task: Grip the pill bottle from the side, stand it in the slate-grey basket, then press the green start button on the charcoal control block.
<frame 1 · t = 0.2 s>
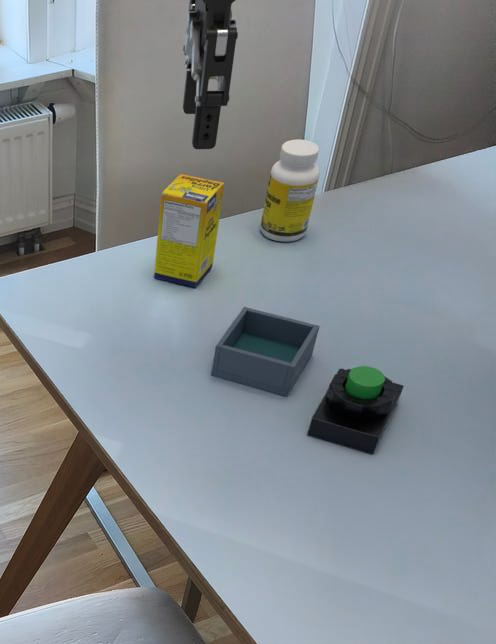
hand: (198, 129, 87), 23 cm above the table, tool pointing down, fingers open, 8 cm apart
basket: (261, 365, 101), on the table
pill bottle: (282, 233, 121), on the table
supplement box: (182, 274, 115), on the table
control block: (353, 418, 95), on the table
start button: (364, 383, 91), point 4 cm above the table, slide at 0.1 cm
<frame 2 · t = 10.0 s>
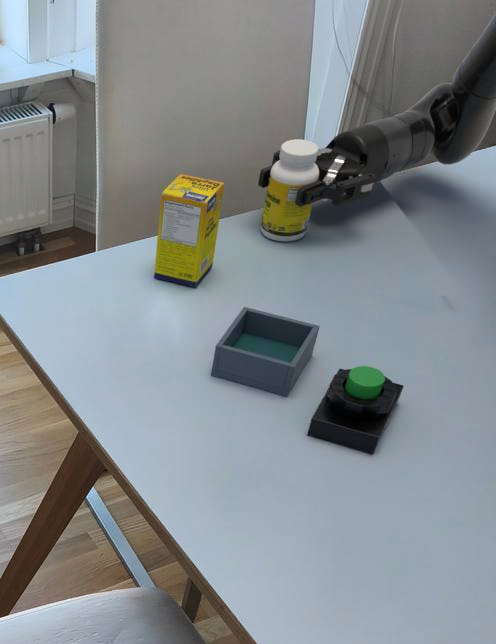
hand: (279, 188, 115), 7 cm above the table, tool horizontal, fingers closed on pill bottle, 6 cm apart
pill bottle: (282, 233, 121), on the table, touching gripper
everything else where it was.
when the fingers open (8 cm above the table, at t = 19.9 s): pill bottle stays where it is, resting on basket.
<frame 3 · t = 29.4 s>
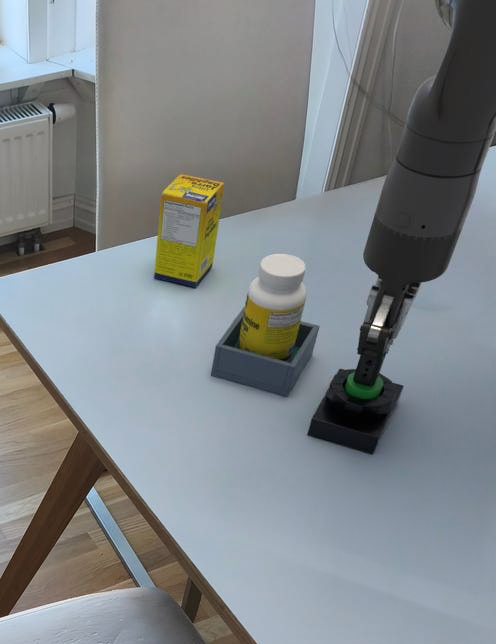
hand: (364, 380, 91), 5 cm above the table, tool pointing down, fingers closed
pill bottle: (262, 358, 101), point 1 cm above the table, touching basket
start button: (363, 387, 92), point 4 cm above the table, slide at -0.5 cm, touching gripper
everything else where it was.
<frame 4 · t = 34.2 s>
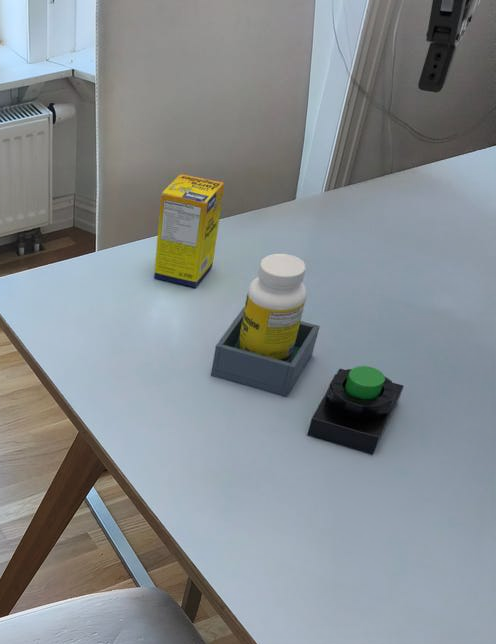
hand: (430, 88, 83), 27 cm above the table, tool pointing down, fingers closed
start button: (364, 383, 91), point 4 cm above the table, slide at 0.1 cm
everything else where it was.
at the end: pill bottle 0.1 cm off-centre in the basket, point 0.8 cm above the basket's base; pill bottle tilted 0°; start button pushed in 1.2 cm at the most during the clip, back to where it started at the end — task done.
